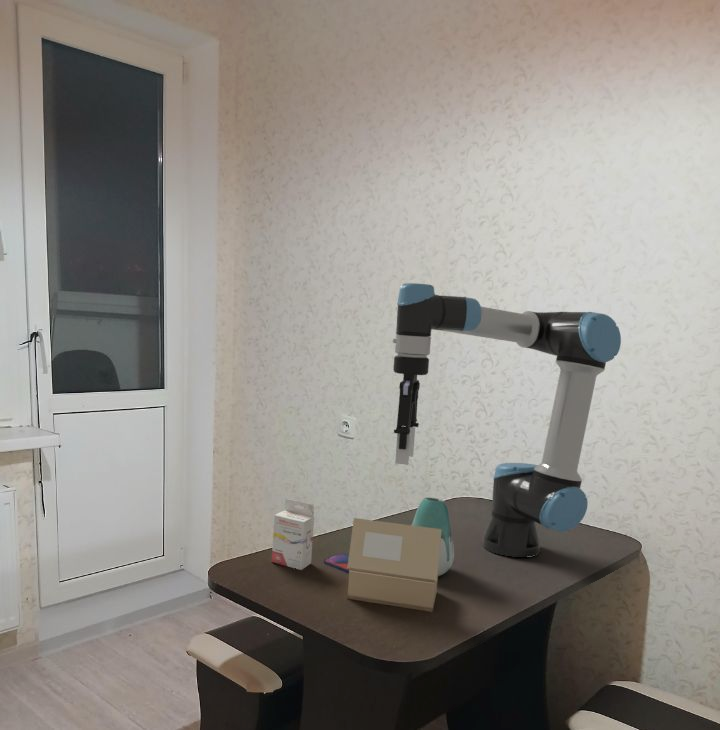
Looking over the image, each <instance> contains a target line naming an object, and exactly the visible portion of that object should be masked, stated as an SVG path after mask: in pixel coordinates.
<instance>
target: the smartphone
mask: <svg viewBox="0 0 720 730" xmlns="http://www.w3.org/2000/svg"><path fill="white" fill-rule="evenodd" d="M348 559H349V554H345V553H338V554H335V555H333V556H331V557H328V558H327V557H326V558H325V559H323V564H325V565H327V566H330V567H333V568H335V569H337V570H340V571H341V572H345V573H348V574H349V568H347V567H348Z"/></svg>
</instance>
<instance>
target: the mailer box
mask: <svg viewBox="0 0 720 730" xmlns="http://www.w3.org/2000/svg"><path fill="white" fill-rule="evenodd" d="M438 567H439V566H438ZM438 578H439V576H438V574H437V581H435V583H431V582H424V581H417V580H410V579H404V578H397V577H390V576H383V575H376V574H370V573H363V572H356V571H349V573H348V585H347V586H348V587H347V600H353V601H358V602H359V601H361V602H365V603H366V602H367V603H371V604H372V603H373V604H378V605H385V606H392V607H399V608H404V609H411V610H416V611H417V610H418V611H422V612H429V613H433V611H434V608H435V607H434V606H435V601H436V596H437V591H438V580H439V579H438Z"/></svg>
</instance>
